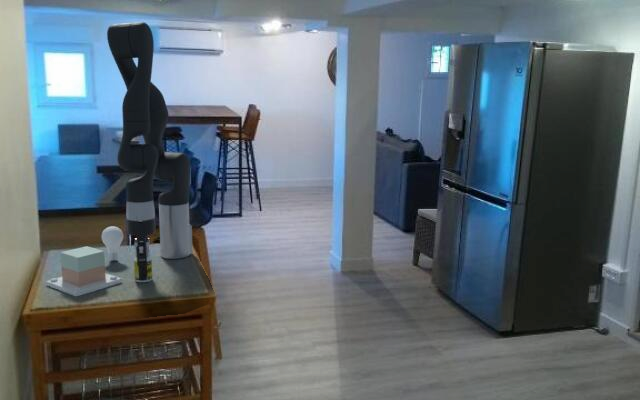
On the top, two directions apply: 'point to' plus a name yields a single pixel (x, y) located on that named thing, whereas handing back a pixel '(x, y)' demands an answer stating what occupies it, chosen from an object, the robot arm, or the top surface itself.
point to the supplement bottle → (149, 269)
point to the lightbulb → (112, 241)
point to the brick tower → (83, 272)
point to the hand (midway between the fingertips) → (143, 275)
